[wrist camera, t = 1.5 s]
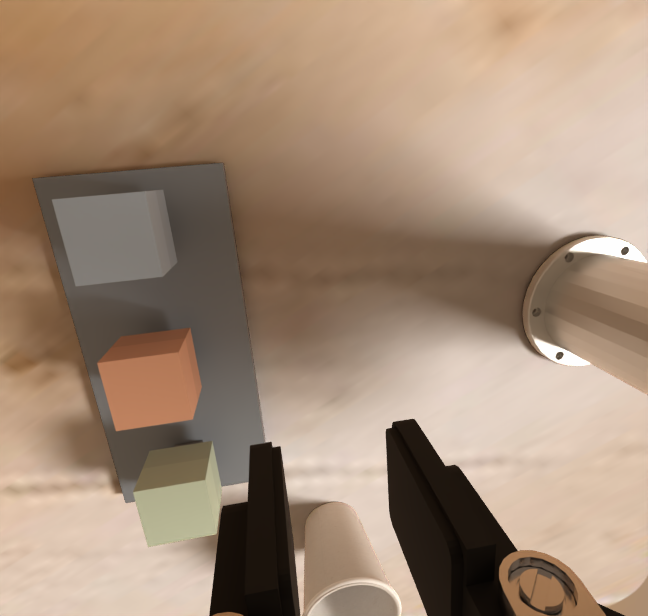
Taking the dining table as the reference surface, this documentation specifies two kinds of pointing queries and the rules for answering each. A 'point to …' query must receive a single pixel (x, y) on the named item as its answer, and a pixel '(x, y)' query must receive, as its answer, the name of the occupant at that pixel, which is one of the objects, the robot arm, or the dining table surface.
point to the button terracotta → (151, 379)
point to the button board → (171, 315)
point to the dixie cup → (343, 567)
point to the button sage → (179, 494)
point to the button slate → (116, 236)
